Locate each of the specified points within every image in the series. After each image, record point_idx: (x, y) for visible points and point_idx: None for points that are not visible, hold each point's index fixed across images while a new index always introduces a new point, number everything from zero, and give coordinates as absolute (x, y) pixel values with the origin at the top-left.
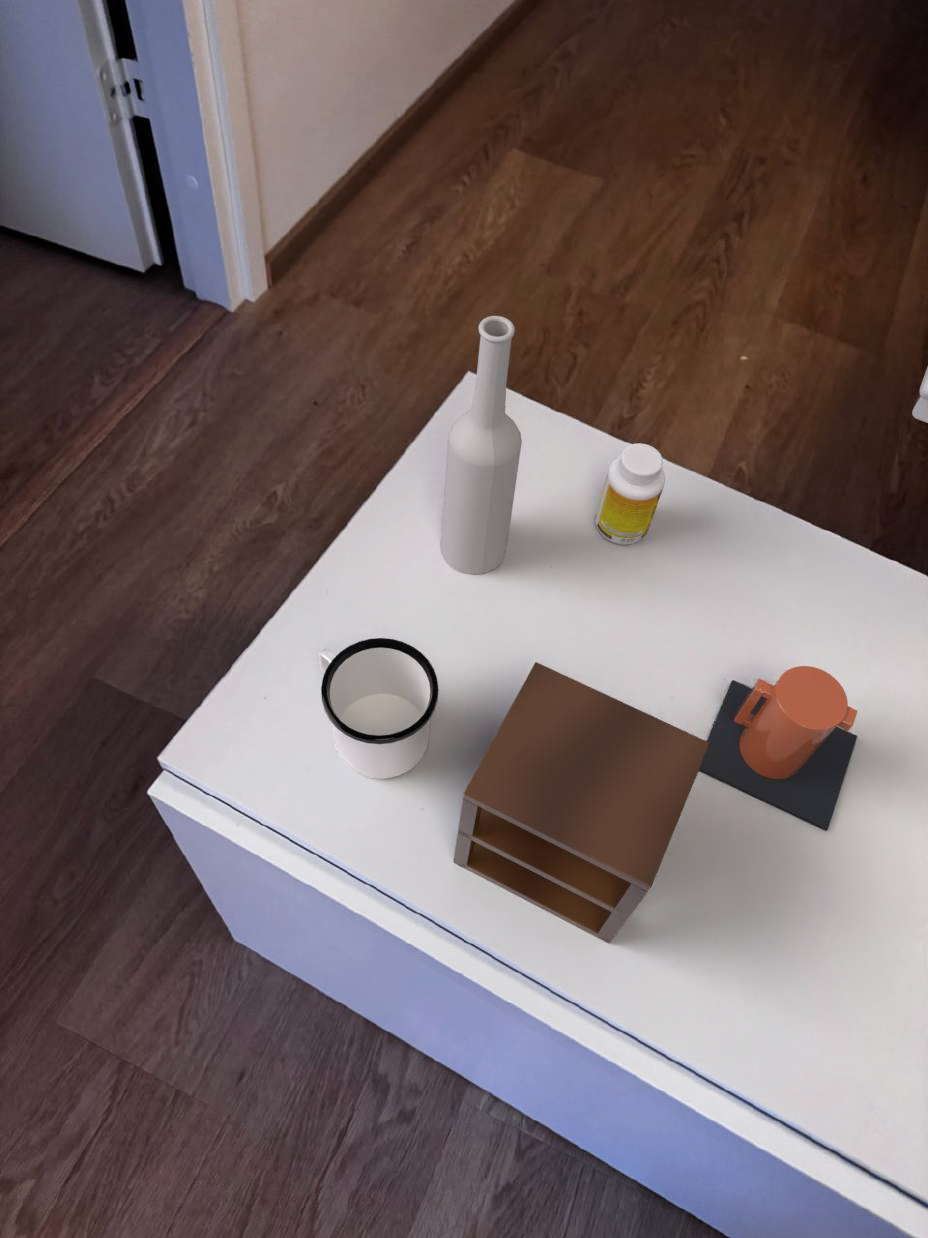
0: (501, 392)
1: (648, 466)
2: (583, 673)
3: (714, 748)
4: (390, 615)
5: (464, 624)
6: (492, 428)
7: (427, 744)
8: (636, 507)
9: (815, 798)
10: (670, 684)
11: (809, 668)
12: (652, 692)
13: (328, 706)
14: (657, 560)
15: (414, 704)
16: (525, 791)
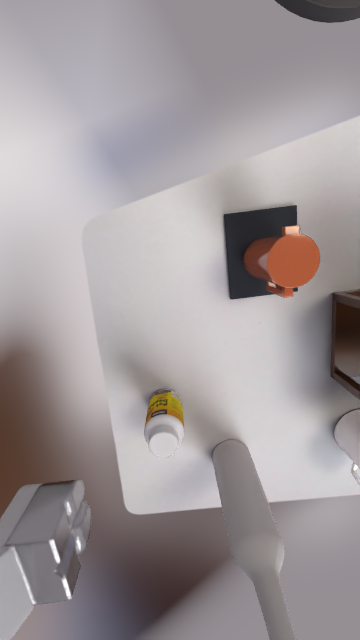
0: (282, 613)
1: (167, 439)
2: (271, 370)
3: None
4: (292, 463)
5: (277, 433)
6: (275, 571)
7: (354, 411)
8: (180, 417)
9: (280, 220)
10: (251, 327)
11: (271, 272)
12: (262, 333)
13: None
14: (175, 373)
15: (337, 428)
16: None
